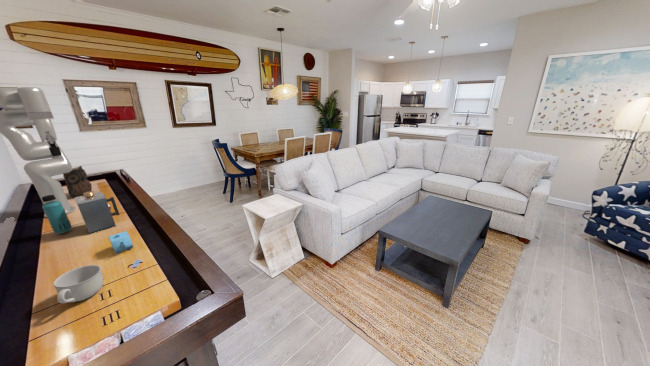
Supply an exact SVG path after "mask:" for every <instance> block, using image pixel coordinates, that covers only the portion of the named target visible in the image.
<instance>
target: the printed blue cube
mask: <svg viewBox="0 0 650 366" xmlns="http://www.w3.org/2000/svg"><path fill="white" fill-rule="evenodd" d="M108 239H109V241H110V244H111V247H112V249H113V251H114V254H115V255H116V254H120V253H121V254H122V252H125V251H127V250H128V251H129V250H131V249H133V248H134V245H133V242H132V240H131V237H130V234H129V233H128V231H127V230H124V231H121V232H118V233H115V234H112V235H108Z"/></svg>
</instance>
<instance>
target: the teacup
mask: <svg viewBox="0 0 650 366" xmlns="http://www.w3.org/2000/svg"><path fill="white" fill-rule="evenodd" d="M52 284H53V287H54V288H55V290H56V293H57V296H56V299H57V302H58V304H59V303H60V304H67V303H75V302H77V301H78V302H82V301H86V300H87V299H89V298H91V297H92V296H94V295H96V293H98V292H99V291H100V290H101V288H102V287H103V285H104V277H103V274H102V269H101V266H100V265H97V264H87V265H83V266H80V267H79V266H78V267H76V268H73V269H70V270H68V271H66V272H64V273H63V274H61V275H59V276H58V277H57V278H55V280H54V281H53V283H52ZM78 302H77V303H78Z"/></svg>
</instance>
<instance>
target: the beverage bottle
mask: <svg viewBox="0 0 650 366" xmlns="http://www.w3.org/2000/svg"><path fill="white" fill-rule="evenodd" d="M55 199H56V198H55V196H54V195H47V196H44V197H42V200H43V202H47V201H51V202H47V203H45V204H44V205H43V204H42V206H41V207H42V210H43V212H44V214H46V216H47V217H46V218H47V220H48V223H49V225H50V226H51V227H50V228H51V229H52V231H53V233H54V234H57V235H58V234H63V233H67V232H69V231H71V230H72V229H73V225H72V223H71V221H70V220H69V216H68V215H67V214H66V212H65V210H64V208H63V206H62V204H61V202H59V201H52V200H55ZM42 200H41V201H42Z"/></svg>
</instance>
